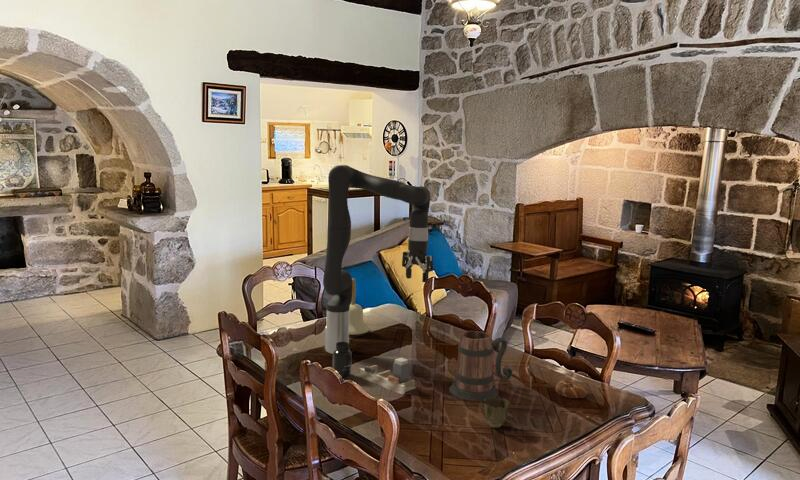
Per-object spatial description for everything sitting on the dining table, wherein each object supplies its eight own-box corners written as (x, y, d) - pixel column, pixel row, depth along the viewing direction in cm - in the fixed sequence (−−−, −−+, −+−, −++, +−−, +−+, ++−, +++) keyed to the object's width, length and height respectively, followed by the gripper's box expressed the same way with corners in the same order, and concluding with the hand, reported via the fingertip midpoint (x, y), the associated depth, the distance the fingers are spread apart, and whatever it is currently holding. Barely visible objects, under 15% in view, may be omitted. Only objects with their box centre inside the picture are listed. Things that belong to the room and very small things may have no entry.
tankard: (464, 403, 192) (467, 344, 189) (440, 385, 207) (442, 330, 204) (524, 393, 202) (527, 337, 199) (496, 376, 217) (499, 324, 214)
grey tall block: (392, 387, 204) (393, 359, 203) (400, 384, 207) (401, 356, 206) (400, 390, 201) (401, 362, 200) (408, 387, 204) (409, 359, 203)
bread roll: (546, 389, 207) (547, 379, 207) (571, 385, 211) (572, 375, 211) (568, 402, 196) (569, 391, 196) (594, 398, 200) (595, 387, 200)
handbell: (328, 333, 264) (328, 278, 260) (349, 325, 276) (350, 273, 272) (355, 339, 255) (356, 283, 251) (376, 331, 267) (377, 278, 264)
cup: (480, 420, 180) (481, 396, 179) (504, 420, 180) (505, 395, 179) (486, 432, 172) (487, 406, 171) (510, 432, 173) (512, 406, 172)
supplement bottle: (348, 379, 210) (348, 347, 208) (329, 377, 211) (330, 345, 209) (353, 373, 216) (354, 341, 215) (335, 371, 218) (336, 339, 216)
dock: (358, 376, 213) (359, 364, 212) (373, 371, 218) (373, 359, 217) (402, 394, 198) (402, 381, 197) (416, 389, 203) (417, 376, 202)
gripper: (398, 237, 228) (396, 278, 230) (425, 241, 218) (423, 284, 220) (411, 235, 233) (410, 276, 235) (438, 240, 223) (437, 282, 225)
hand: (416, 280), depth 228 cm, fingers open, 8 cm apart
